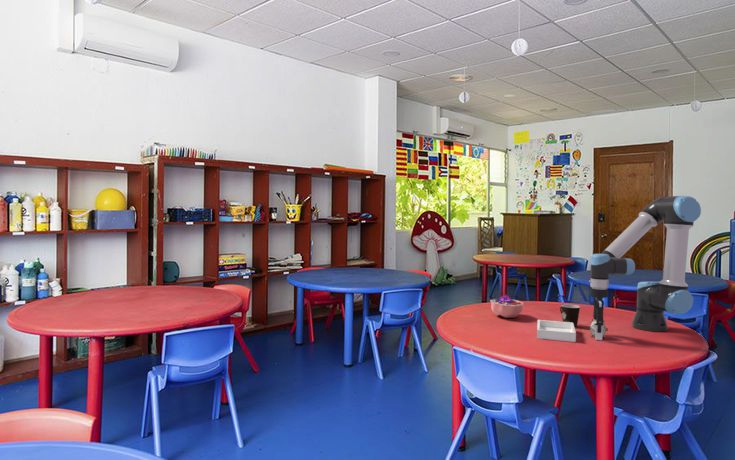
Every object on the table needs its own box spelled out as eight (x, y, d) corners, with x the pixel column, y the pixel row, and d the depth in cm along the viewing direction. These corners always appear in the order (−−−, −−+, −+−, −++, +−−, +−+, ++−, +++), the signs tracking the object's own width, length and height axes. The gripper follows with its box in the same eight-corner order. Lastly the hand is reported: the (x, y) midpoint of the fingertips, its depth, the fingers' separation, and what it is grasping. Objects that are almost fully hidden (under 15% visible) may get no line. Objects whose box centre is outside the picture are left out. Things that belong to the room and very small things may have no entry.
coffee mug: (581, 328, 238) (581, 308, 238) (562, 327, 240) (563, 307, 239) (576, 323, 249) (576, 303, 249) (558, 322, 251) (558, 302, 251)
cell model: (492, 320, 254) (493, 299, 253) (488, 312, 274) (488, 292, 273) (526, 321, 252) (526, 300, 251) (519, 313, 272) (519, 293, 271)
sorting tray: (572, 330, 234) (573, 322, 233) (575, 342, 214) (575, 333, 214) (537, 327, 239) (537, 319, 239) (537, 338, 219) (537, 329, 219)
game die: (600, 344, 223) (613, 327, 223) (600, 342, 216) (613, 324, 216) (582, 332, 228) (595, 315, 228) (582, 330, 220) (595, 312, 221)
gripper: (587, 283, 233) (586, 330, 234) (592, 291, 212) (590, 342, 213) (605, 285, 230) (603, 331, 231) (611, 292, 209) (609, 343, 210)
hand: (597, 336), depth 222 cm, fingers closed on game die, 10 cm apart
